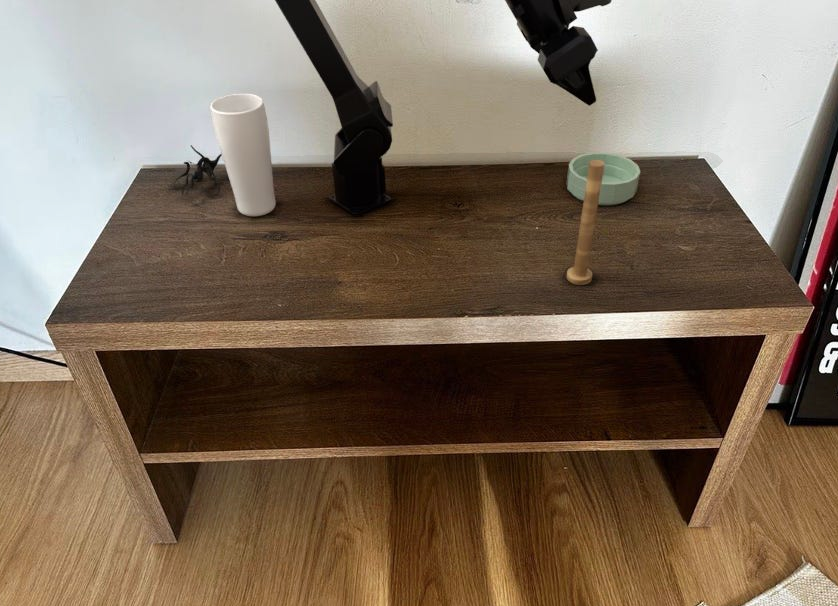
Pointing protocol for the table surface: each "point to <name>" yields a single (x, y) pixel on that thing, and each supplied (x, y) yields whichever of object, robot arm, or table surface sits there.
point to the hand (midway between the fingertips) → (583, 89)
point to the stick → (587, 225)
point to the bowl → (605, 177)
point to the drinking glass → (245, 151)
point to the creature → (200, 171)
